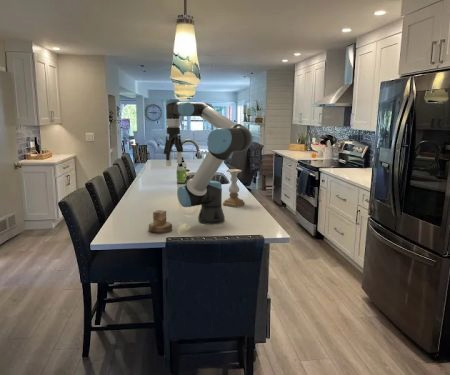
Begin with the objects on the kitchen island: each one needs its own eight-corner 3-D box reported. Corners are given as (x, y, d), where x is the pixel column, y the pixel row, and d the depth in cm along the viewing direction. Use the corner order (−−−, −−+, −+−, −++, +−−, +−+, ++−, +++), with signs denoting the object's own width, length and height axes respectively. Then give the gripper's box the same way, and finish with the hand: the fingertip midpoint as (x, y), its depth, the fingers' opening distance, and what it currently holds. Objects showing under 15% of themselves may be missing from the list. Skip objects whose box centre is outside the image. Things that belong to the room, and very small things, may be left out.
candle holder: (231, 202, 258) (231, 168, 254) (244, 204, 252) (245, 169, 248) (222, 205, 250) (222, 170, 245) (236, 207, 243) (236, 171, 239)
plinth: (175, 227, 198) (175, 222, 198) (165, 234, 187) (165, 228, 186) (155, 225, 202) (155, 220, 201) (144, 232, 191) (144, 226, 190)
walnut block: (166, 223, 196) (166, 210, 194) (162, 226, 191) (161, 213, 190) (158, 222, 197) (157, 210, 196) (153, 225, 192) (153, 212, 191)
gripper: (176, 126, 221) (177, 161, 225) (156, 127, 197) (157, 166, 201) (188, 126, 218) (188, 162, 222) (169, 127, 195) (170, 167, 199)
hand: (174, 164), depth 212 cm, fingers open, 13 cm apart
